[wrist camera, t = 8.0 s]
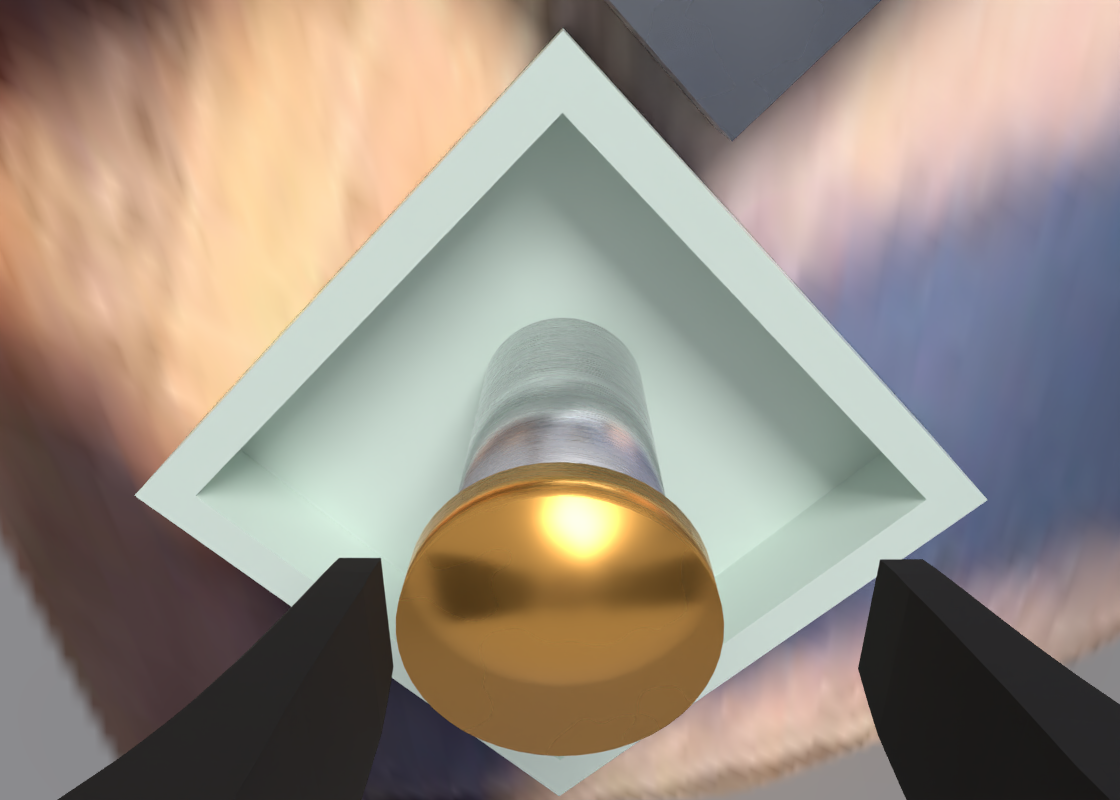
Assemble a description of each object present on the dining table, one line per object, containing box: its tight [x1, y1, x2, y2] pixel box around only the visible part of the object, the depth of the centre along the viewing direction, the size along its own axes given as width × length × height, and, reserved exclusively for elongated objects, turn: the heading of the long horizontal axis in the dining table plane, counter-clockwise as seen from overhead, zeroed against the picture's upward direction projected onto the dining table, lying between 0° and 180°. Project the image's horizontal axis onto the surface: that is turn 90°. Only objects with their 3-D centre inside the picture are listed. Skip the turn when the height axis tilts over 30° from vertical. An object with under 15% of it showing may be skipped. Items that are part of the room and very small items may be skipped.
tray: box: [135, 28, 987, 796], centre depth 21 cm, size 14×14×4 cm
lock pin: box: [396, 318, 724, 756], centre depth 17 cm, size 5×5×9 cm
